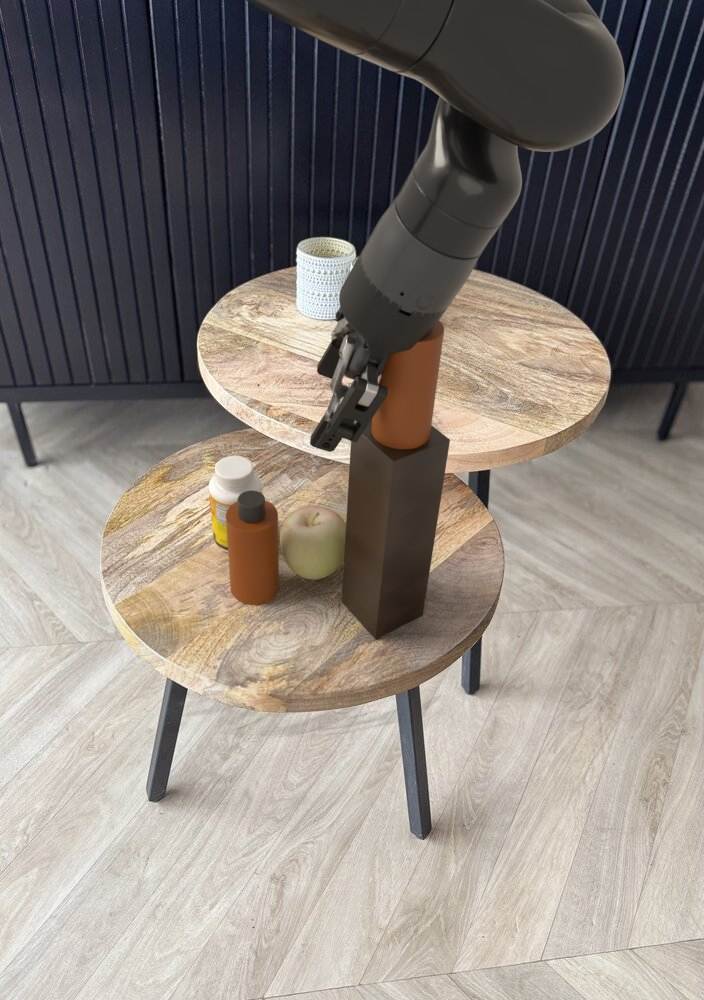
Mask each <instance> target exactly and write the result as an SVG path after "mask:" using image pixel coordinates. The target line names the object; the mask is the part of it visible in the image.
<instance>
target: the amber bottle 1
mask: <svg viewBox="0 0 704 1000" xmlns="http://www.w3.org/2000/svg"><path fill="white" fill-rule="evenodd" d="M226 527H227V542H228V553H227V554H228V555H227V556H228V569H229V584H230V592H231V595H232V596H233V597H234V599H236V600H237V601H238V602H240V603H242V604H245V605H251V606H253V605H254V606H257V605H262V604H266V603H268V602H270V601H271V600H273V599H274V598H275V597H276V595H277V594H278V593H279V590H280V565H279V564H280V563H279V559H280V558H279V554H280V553H279V513H278V509H277V507H276V506H275V505H274V504H272V503H271V502H270V501H267V500H266V496H265V494H263V492H262V493H260V492H258V491H246V492H243V493H241V494H240V495H239V497H238V502H236V503H234V504H233V505H231V506H230V507H229V509H228V510H227V512H226Z"/></svg>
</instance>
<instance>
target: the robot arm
mask: <svg viewBox="0 0 704 1000" xmlns="http://www.w3.org/2000/svg"><path fill="white" fill-rule="evenodd" d="M1 1H2V0H0V2H1ZM245 1H247V2H248V3H249V4H250V5H251V4H252V5H253V6H255V7H256V8H259V9H260V10H262V11H264V12H265V13H267V14H268V15H270V16H272V17H274V18H276V19H278V20H279V21H282V22H284V23H286V24H288V25H289V26H291V27H293V28H295V29H297V30H298V31H301V32H303V33H305V34H307V35H309V36H310V37H312V38H315V39H317V40H319V41H321V42H322V43H326V44H327V45H329V46H332V47H333V48H335V49H338V50H340V51H343V52H345V53H347V54H349V55H352V56H354V57H356V58H359V59H361V60H364V61H366V62H369V63H371V64H373V65H376V66H378V67H381V68H383V69H385V70H388V71H390V72H393V73H395V74H398V75H400V76H404V77H407V78H409V79H413V80H415V81H417V82H419V83H420V84H422V85H423V86H425V87H426V88H428V89H429V90H430V91H432V92H433V93H435V94H436V95H437V96H439V97H438V99H437V103H436V106H435V110H434V113H433V118H432V122H431V127H430V130H429V133H428V138H427V141H426V143H425V146H424V148H423V149H422V151H421V153H420V154H419V155H418V157H417V158H416V160H415V162H414V165H412V167H411V170H410V171H409V172H408V174H407V177H406V178H405V180H404V181H403V184H402V186H401V187H400V189H399V192H398V193H397V195H396V197H395V198H394V200H393V201H392V202H391V204H390V205H389V206H388V208H387V209H386V210H385V211H384V213H382V216H381V217H380V218H379V219H378V221H377V223H376V225H375V226H374V228H373V230H372V232H371V234H370V236H369V238H368V240H367V241H366V244H365V245H364V247H363V248H362V250H361V252H360V254H359V255H358V257H357V259H356V261H355V263H354V264H353V266H352V267H351V270H350V272H349V273H348V274H347V277H346V278H345V280H344V283H343V285H342V286H341V288H340V291H339V296H338V297H339V298H338V300H339V309H338V310H337V311H336V313H335V322H337V323H336V326H335V327H334V329H333V330H332V331H331V334H330V336H331V341H330V343H329V344H328V346H327V347H326V350H325V351H324V353H323V355H321V358H320V360H319V361H318V363H317V367H316V373H317V374H318V375H319V376H322V377H325V378H328V379H331V381H330V383H329V389H330V391H331V392H332V395H331V398H330V400H329V404H328V406H327V409H326V410H325V412H324V414H323V416H322V417H321V419H320V421H319V423H317V425H316V427H315V429H314V430H313V432H312V433H311V435H310V439H309V444H310V447H313V448H315V449H318V450H321V451H325V452H329V453H331V452H334V451H335V450H336V448H337V447H338V446H339V444H340V443H341V441H342V440H343V439H345V440H347V441H349V442H351V441H352V442H357V441H358V439H359V438H360V436H361V435H362V433H363V431H364V430H365V428H366V427H367V425H368V424H369V422H370V421H371V419H372V418H373V416H374V415H375V413H376V412H377V410H378V409H379V407H380V406H381V404H382V403H383V401H384V400H385V398H386V397H387V392H388V388H387V387H386V386H383V385H380V384H379V382H380V379H381V374H382V372H383V370H384V368H385V366H386V363H387V361H388V359H389V357H390V355H392V354H394V353H398V352H402V351H408V350H410V349H411V348H412V347H413V346H414V345H415V344H416V343H417V342H419V341H421V340H423V339H424V338H426V337H427V336H428V335H429V334H430V332H431V331H432V329H433V328H434V326H435V325H436V324H437V322H438V321H440V320H441V318H442V317H443V315H444V314H445V312H446V311H447V309H448V308H449V307H450V306H451V304H452V302H453V301H454V299H455V298H456V297H457V295H458V294H459V293H460V291H461V290H462V288H463V287H464V285H466V282H468V280H469V278H470V276H471V275H472V272H473V271H474V268H475V266H476V265H477V262H478V260H479V258H480V257H481V255H482V254H483V251H484V250H485V249H486V248H487V246H488V245H489V244H490V242H491V241H492V239H493V238H494V236H495V235H496V233H497V232H498V231H499V229H500V228H501V226H502V225H503V223H504V222H505V221H506V219H507V218H508V216H509V215H510V213H511V212H512V210H513V209H514V207H515V205H516V203H517V202H518V200H519V197H520V195H521V193H522V188H523V175H522V170H521V164H520V158H519V151H518V150H519V149H518V147H519V148H522V149H525V150H530V151H533V152H542V153H543V152H545V153H546V152H547V153H549V152H550V153H554V152H559V151H560V152H562V151H566V150H571V149H573V148H576V147H578V146H581V145H582V144H585V143H586V142H588V141H590V140H591V139H593V138H594V137H595V136H596V135H598V134H599V133H600V132H601V131H602V130H603V129H604V128H605V127H606V126H607V125H608V124H609V122H611V120H612V118H613V117H614V115H615V114H616V112H617V110H618V107H619V105H620V102H621V99H622V97H623V93H624V87H625V77H626V76H625V65H624V60H623V56H622V52H621V50H620V49H619V45H618V44H617V42H616V40H615V38H614V37H613V35H612V34H611V33H610V31H609V29H608V28H607V27H606V25H605V24H604V23H603V21H602V20H601V18H599V17H600V16H598V14H597V13H596V11H595V10H594V9H593V8H592V6H591V5H590V3H589V2H588V0H245ZM344 376H345V378H347V379H350V380H353V381H352V382H350V383H349V385H348V386H347V385H346V384H343V379H344Z"/></svg>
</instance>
